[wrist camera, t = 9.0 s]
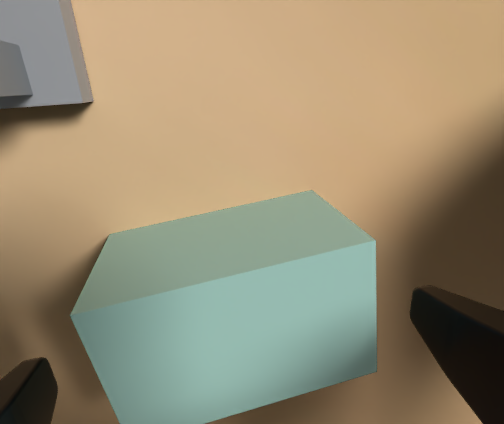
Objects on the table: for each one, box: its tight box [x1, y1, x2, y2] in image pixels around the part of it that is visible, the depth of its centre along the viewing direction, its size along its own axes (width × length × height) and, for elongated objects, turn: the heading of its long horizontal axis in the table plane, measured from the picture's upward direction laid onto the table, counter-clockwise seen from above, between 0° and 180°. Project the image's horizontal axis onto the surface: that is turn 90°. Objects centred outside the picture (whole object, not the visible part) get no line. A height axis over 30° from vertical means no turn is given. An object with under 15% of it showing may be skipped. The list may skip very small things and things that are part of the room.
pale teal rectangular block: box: [70, 190, 377, 424], centre depth 9 cm, size 6×4×4 cm, turn 99°
